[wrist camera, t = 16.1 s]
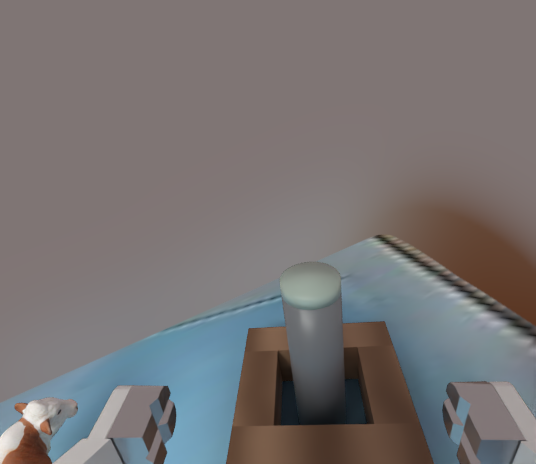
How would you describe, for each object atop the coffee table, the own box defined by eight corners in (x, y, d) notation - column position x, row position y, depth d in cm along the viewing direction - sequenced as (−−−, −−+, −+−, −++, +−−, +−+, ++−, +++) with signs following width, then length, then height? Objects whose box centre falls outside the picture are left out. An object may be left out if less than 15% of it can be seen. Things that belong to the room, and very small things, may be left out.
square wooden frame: (235, 504, 24) (224, 471, 22) (254, 357, 35) (248, 328, 33) (430, 506, 22) (436, 470, 20) (383, 352, 34) (384, 321, 32)
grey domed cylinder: (298, 438, 27) (278, 299, 21) (298, 394, 31) (280, 263, 24) (349, 438, 27) (344, 295, 20) (343, 393, 30) (337, 259, 24)
